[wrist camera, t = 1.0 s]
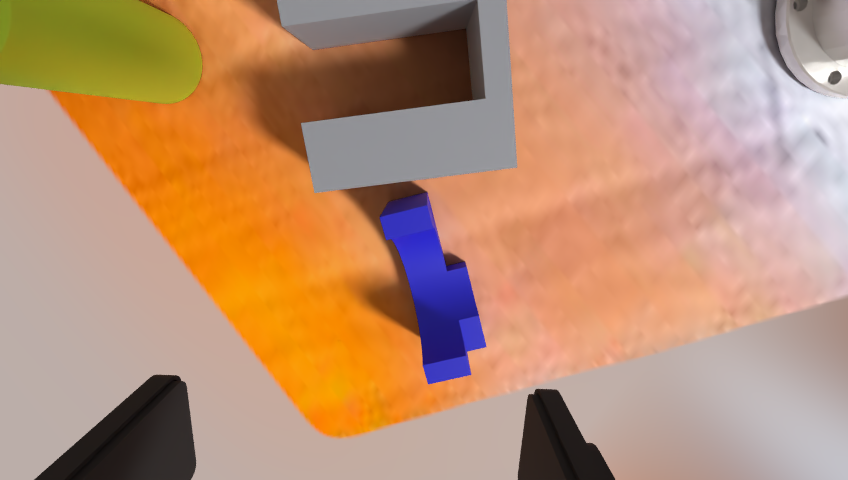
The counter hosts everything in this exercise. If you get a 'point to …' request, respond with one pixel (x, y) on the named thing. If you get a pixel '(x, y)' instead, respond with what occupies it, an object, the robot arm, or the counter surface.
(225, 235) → the counter surface
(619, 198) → the counter surface
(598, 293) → the counter surface
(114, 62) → the soap dispenser
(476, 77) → the slotted block
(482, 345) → the cable clip
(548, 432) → the robot arm
